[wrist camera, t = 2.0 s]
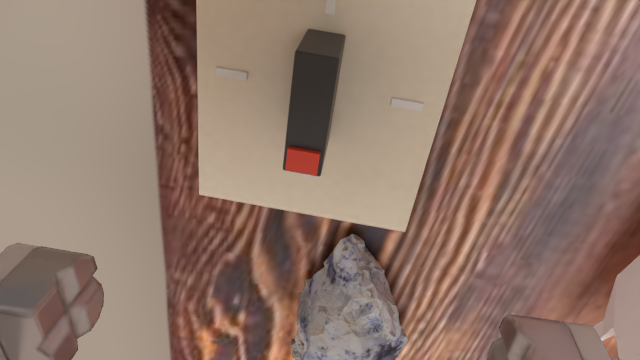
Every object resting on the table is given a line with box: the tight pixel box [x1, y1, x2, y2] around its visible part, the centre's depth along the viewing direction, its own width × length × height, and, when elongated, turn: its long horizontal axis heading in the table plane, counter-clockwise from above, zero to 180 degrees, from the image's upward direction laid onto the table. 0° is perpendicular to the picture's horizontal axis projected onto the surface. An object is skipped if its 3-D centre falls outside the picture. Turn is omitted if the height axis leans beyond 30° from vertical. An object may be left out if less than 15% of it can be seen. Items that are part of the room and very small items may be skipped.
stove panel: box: [196, 0, 476, 232], centre depth 21 cm, size 14×11×3 cm
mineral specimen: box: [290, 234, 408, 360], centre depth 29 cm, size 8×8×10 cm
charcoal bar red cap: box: [283, 29, 346, 176], centre depth 18 cm, size 5×2×3 cm, turn 172°
